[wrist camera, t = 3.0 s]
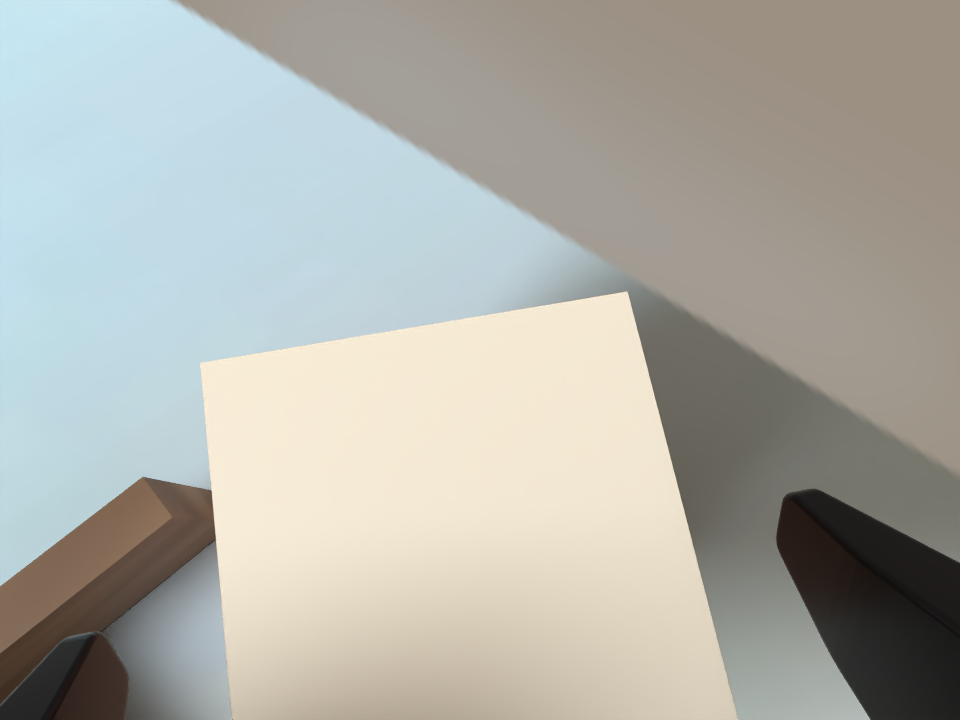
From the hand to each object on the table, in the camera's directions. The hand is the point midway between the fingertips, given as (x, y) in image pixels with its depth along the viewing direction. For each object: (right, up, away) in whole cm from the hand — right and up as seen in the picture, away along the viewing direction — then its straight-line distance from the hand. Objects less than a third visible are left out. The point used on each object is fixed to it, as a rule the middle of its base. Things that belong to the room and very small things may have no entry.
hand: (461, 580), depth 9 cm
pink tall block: (0, -2, +8) cm, 8 cm away
